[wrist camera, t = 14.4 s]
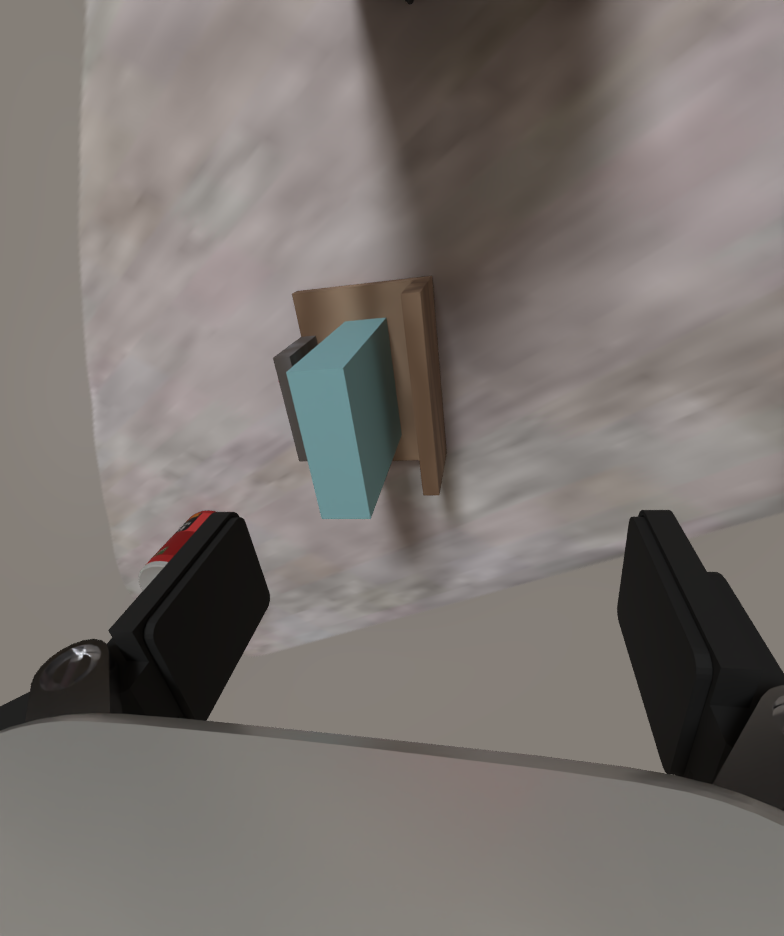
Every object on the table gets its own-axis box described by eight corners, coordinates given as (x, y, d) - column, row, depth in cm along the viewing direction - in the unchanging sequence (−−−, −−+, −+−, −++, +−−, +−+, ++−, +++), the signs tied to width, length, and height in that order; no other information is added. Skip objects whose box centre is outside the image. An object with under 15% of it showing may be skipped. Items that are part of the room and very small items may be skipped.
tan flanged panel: (432, 275, 42) (420, 292, 35) (446, 452, 51) (439, 495, 44) (297, 291, 45) (260, 309, 38) (332, 456, 54) (308, 496, 46)
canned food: (193, 499, 61) (139, 554, 51) (251, 523, 61) (207, 582, 52) (186, 540, 65) (135, 598, 55) (240, 563, 65) (198, 624, 56)
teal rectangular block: (386, 317, 43) (342, 368, 31) (401, 434, 49) (370, 518, 36) (345, 321, 44) (286, 372, 31) (364, 436, 50) (321, 518, 37)
